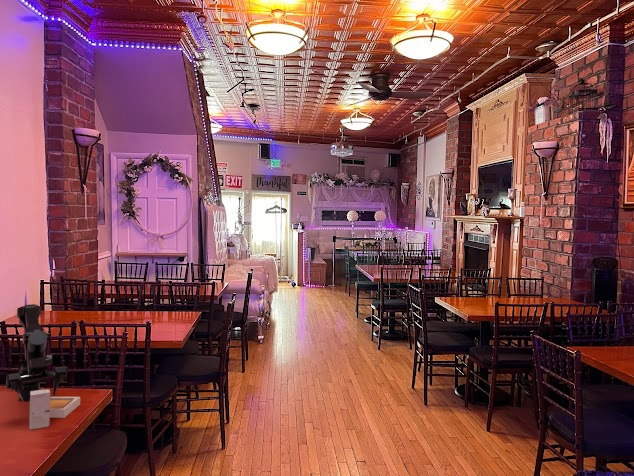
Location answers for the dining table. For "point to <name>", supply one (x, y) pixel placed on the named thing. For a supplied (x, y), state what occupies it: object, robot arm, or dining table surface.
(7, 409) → the dining table surface
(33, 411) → the skincare box
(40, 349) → the robot arm
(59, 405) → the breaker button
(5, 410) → the dining table surface
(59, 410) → the shallow white square tray
